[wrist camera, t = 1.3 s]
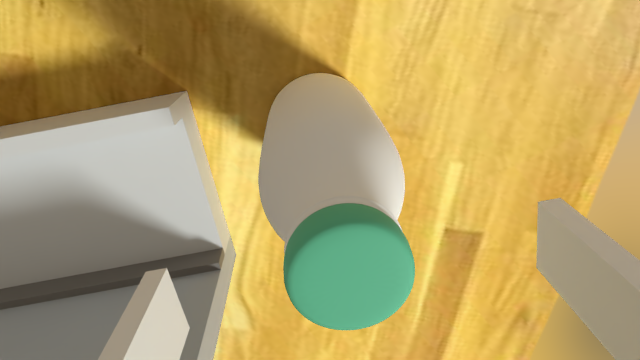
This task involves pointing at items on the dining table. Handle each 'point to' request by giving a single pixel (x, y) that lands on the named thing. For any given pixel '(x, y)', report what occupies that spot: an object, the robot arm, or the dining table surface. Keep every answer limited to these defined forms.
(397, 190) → the milk bottle
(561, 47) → the dining table surface
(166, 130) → the board
